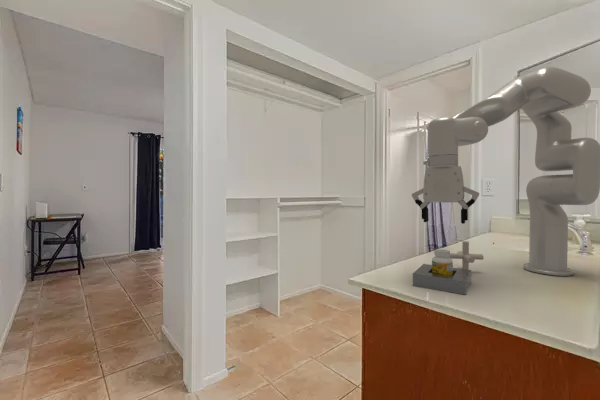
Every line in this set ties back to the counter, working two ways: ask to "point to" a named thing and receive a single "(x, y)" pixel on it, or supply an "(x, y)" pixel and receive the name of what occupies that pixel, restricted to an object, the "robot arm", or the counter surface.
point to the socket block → (442, 280)
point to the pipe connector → (466, 256)
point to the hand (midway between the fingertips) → (444, 222)
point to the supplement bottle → (442, 263)
